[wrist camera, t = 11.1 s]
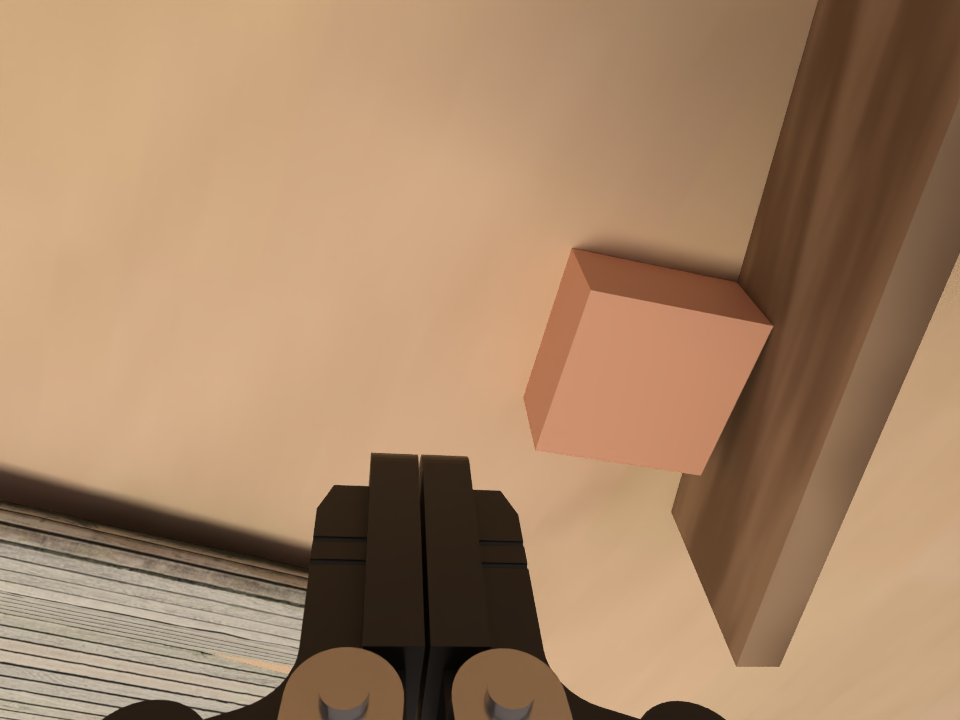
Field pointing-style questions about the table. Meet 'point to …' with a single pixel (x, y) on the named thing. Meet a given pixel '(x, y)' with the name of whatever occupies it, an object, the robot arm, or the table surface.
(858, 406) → the walnut board
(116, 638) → the mat
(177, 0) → the table surface
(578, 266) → the terracotta block
